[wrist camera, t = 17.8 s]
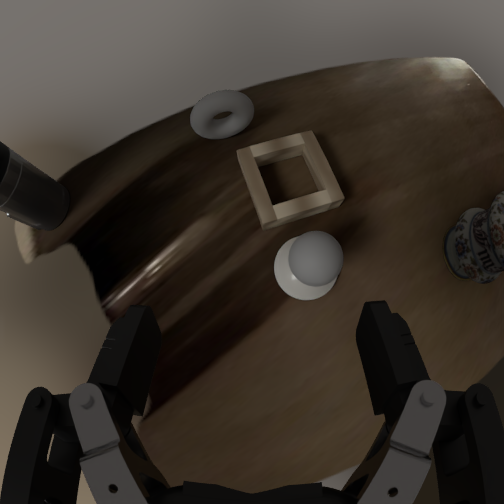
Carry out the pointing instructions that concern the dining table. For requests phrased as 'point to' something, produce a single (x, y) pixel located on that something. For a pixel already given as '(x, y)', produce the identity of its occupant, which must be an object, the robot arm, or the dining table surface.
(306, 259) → the lightbulb
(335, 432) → the dining table surface
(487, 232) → the apothecary jar
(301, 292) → the white round part
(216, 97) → the donut
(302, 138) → the pocket
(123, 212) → the dining table surface
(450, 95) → the dining table surface
